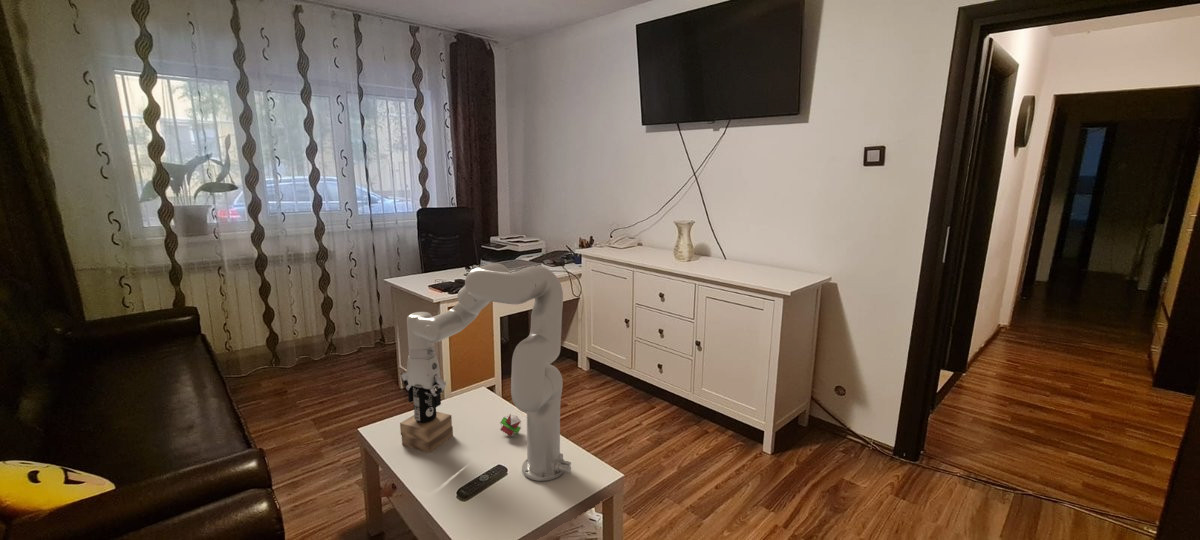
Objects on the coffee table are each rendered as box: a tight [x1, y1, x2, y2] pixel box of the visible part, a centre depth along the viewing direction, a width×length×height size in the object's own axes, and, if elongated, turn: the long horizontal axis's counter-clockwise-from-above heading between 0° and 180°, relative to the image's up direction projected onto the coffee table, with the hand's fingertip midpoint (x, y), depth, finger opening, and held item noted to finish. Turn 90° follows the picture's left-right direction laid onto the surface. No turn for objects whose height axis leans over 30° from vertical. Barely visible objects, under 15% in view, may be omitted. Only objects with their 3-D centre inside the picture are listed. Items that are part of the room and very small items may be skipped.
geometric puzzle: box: [499, 413, 522, 436], centre depth 166 cm, size 7×7×8 cm
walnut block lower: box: [401, 425, 454, 454], centre depth 163 cm, size 11×11×4 cm
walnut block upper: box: [399, 411, 453, 442], centre depth 162 cm, size 11×11×4 cm
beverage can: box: [413, 384, 437, 423], centre depth 161 cm, size 7×7×12 cm
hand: (424, 403), depth 161 cm, fingers open, 9 cm apart
